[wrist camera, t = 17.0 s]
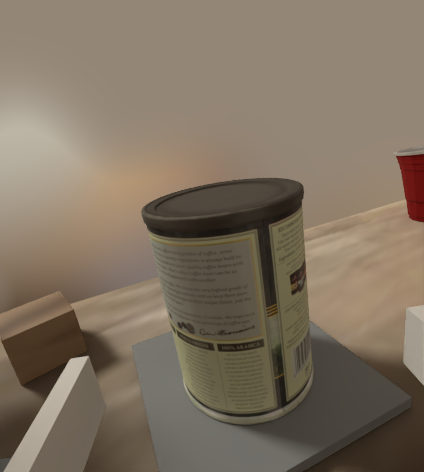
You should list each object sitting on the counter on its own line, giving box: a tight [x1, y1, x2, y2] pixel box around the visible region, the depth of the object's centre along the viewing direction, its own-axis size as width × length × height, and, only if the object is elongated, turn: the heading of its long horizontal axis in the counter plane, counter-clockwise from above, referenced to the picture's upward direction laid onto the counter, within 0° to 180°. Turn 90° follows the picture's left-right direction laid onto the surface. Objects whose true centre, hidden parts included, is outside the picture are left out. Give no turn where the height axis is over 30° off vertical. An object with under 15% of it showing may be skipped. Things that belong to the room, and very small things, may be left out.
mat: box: [132, 320, 412, 472], centre depth 24 cm, size 16×16×1 cm
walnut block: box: [0, 291, 88, 386], centre depth 30 cm, size 6×6×5 cm
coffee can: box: [141, 178, 314, 425], centre depth 22 cm, size 10×10×14 cm
